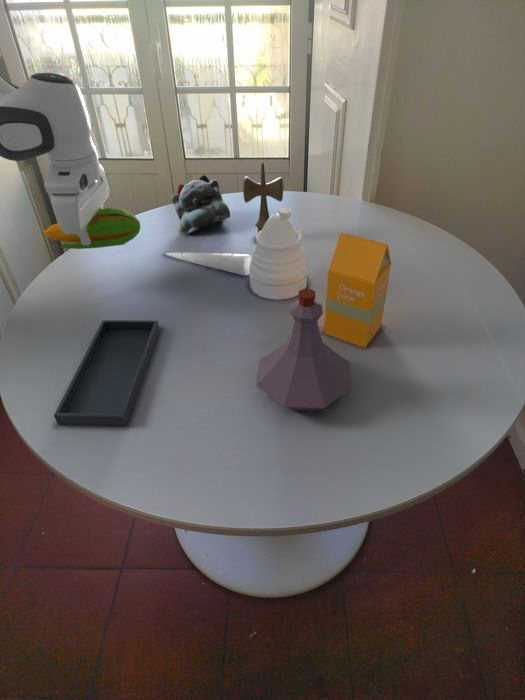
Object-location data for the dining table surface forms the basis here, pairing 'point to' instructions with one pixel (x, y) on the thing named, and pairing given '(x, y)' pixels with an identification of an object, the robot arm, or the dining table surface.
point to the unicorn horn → (218, 261)
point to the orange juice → (356, 289)
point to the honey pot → (278, 259)
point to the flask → (304, 363)
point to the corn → (101, 230)
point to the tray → (109, 375)
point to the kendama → (262, 194)
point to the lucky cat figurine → (199, 204)
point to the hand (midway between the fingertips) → (93, 234)
